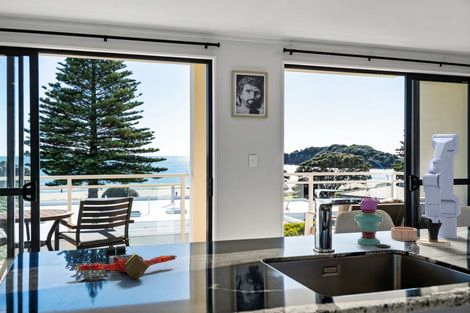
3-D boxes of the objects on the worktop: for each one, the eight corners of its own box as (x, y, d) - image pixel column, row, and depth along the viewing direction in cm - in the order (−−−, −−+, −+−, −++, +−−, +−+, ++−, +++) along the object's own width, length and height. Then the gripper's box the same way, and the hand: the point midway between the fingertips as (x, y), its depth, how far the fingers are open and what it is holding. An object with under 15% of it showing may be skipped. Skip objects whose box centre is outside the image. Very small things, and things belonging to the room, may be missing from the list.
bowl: (390, 237, 195) (390, 226, 195) (415, 238, 192) (415, 227, 192) (391, 241, 185) (391, 230, 185) (418, 242, 182) (418, 231, 182)
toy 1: (67, 275, 145) (82, 290, 118) (66, 251, 146) (81, 260, 119) (160, 264, 159) (192, 275, 133) (159, 242, 160) (190, 248, 133)
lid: (415, 240, 183) (415, 228, 183) (447, 242, 180) (447, 229, 180) (418, 246, 172) (418, 233, 172) (452, 247, 168) (452, 234, 168)
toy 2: (386, 242, 182) (385, 198, 182) (378, 247, 172) (378, 200, 173) (359, 240, 187) (359, 196, 187) (351, 244, 178) (350, 199, 178)
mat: (415, 241, 183) (415, 240, 183) (447, 243, 180) (447, 241, 180) (418, 247, 172) (418, 246, 172) (452, 249, 168) (452, 247, 168)
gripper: (419, 202, 184) (420, 235, 184) (423, 205, 170) (424, 241, 170) (438, 202, 182) (439, 236, 182) (444, 206, 168) (444, 242, 168)
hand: (433, 239), depth 176 cm, fingers open, 4 cm apart
